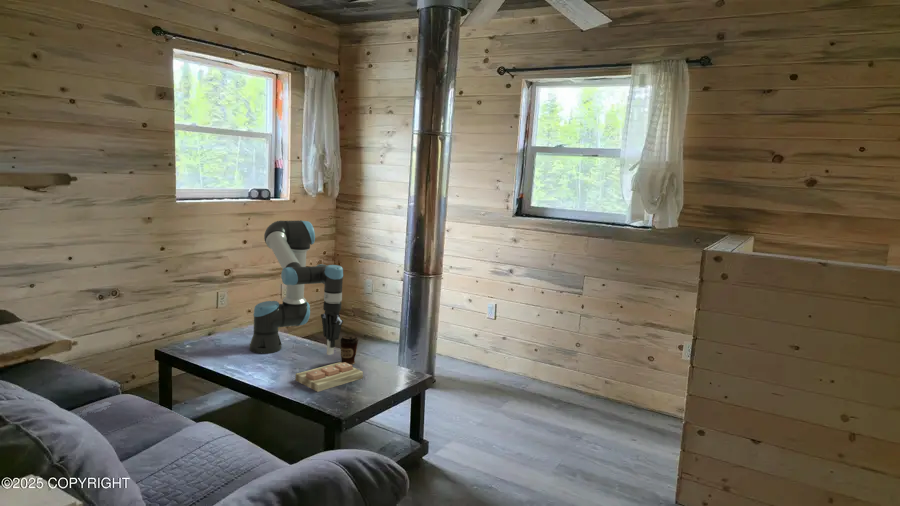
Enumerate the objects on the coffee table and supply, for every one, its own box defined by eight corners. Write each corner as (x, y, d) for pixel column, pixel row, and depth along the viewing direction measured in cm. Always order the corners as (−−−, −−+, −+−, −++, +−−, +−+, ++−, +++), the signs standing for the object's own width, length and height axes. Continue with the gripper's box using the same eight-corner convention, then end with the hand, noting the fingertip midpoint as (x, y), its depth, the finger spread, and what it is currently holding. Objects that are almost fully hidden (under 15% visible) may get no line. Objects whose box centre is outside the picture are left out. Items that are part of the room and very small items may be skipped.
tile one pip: (305, 382, 236) (306, 372, 235) (316, 379, 240) (317, 369, 239) (313, 386, 232) (314, 375, 232) (324, 383, 236) (325, 372, 236)
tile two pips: (320, 378, 241) (320, 368, 241) (330, 375, 246) (331, 365, 245) (328, 382, 238) (328, 371, 237) (338, 379, 242) (339, 368, 241)
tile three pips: (334, 374, 247) (334, 364, 246) (344, 371, 251) (344, 361, 251) (342, 378, 243) (342, 367, 243) (352, 375, 248) (352, 365, 247)
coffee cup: (352, 367, 258) (354, 340, 256) (336, 364, 260) (337, 338, 258) (359, 361, 267) (360, 335, 265) (343, 359, 268) (344, 333, 266)
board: (295, 380, 238) (295, 373, 237) (340, 368, 256) (340, 361, 256) (317, 391, 228) (317, 384, 227) (362, 378, 246) (363, 371, 245)
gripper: (316, 299, 238) (314, 351, 242) (334, 306, 230) (332, 360, 234) (330, 297, 244) (328, 348, 247) (349, 303, 235) (346, 356, 239)
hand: (330, 353), depth 240 cm, fingers closed
